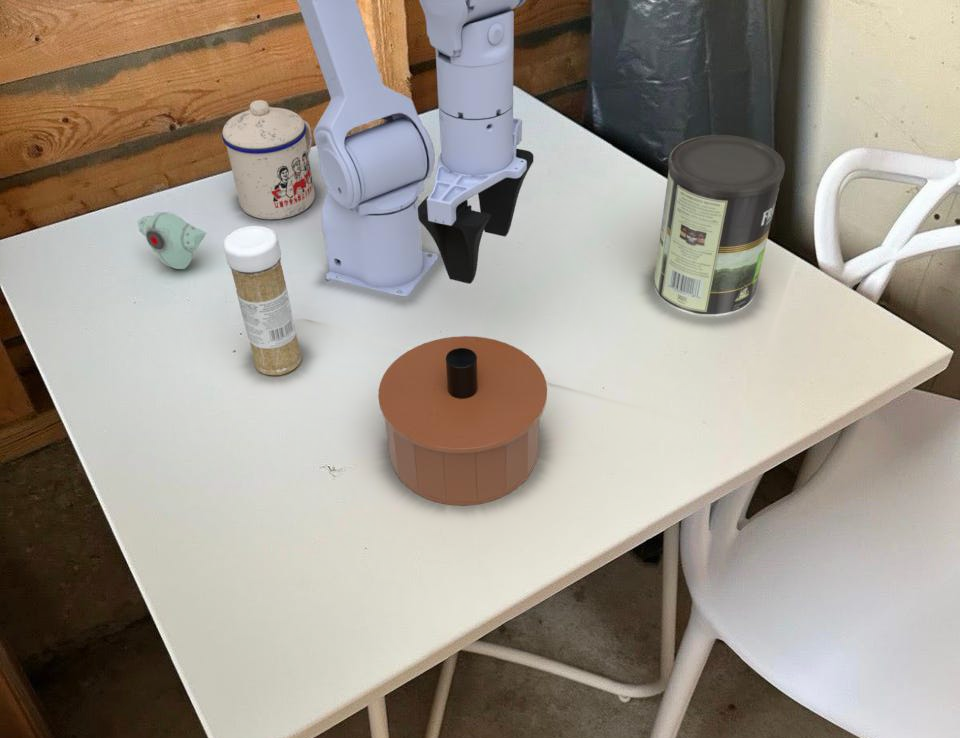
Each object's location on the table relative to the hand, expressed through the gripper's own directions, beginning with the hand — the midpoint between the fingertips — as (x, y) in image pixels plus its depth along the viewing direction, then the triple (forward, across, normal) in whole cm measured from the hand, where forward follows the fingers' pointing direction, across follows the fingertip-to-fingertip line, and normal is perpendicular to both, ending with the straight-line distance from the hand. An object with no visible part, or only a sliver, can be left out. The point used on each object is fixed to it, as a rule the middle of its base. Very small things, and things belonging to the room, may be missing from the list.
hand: (479, 255), depth 80 cm
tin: (+10, -13, -4) cm, 17 cm away
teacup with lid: (+11, +17, +32) cm, 38 cm away
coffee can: (+11, +17, -17) cm, 26 cm away
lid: (+4, -13, -4) cm, 14 cm away
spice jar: (+11, -9, +17) cm, 22 cm away
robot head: (+11, 0, +35) cm, 37 cm away
